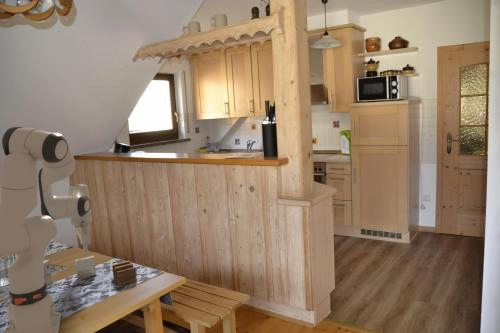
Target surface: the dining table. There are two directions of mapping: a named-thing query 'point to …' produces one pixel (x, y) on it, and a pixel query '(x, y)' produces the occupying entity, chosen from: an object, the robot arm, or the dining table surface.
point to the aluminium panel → (85, 267)
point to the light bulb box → (47, 272)
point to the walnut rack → (124, 272)
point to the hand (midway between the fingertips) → (84, 247)
